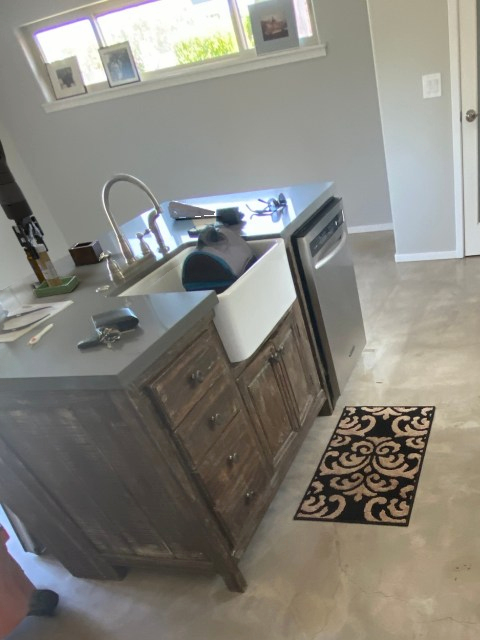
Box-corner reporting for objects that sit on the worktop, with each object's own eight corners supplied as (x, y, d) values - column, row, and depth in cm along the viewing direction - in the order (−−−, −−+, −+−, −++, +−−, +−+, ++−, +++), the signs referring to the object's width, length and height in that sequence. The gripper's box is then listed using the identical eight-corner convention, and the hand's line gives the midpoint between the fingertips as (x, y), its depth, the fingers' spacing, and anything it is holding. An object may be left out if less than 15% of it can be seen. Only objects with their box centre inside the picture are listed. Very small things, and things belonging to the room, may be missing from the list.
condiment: (60, 281, 187) (42, 245, 179) (36, 288, 183) (16, 252, 175) (57, 277, 191) (39, 242, 183) (33, 284, 188) (13, 248, 180)
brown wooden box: (75, 266, 201) (67, 249, 197) (82, 259, 207) (74, 243, 203) (99, 262, 201) (91, 245, 197) (105, 255, 208) (98, 239, 204)
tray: (37, 297, 175) (33, 290, 173) (47, 287, 182) (43, 281, 181) (70, 291, 175) (67, 284, 174) (79, 282, 183) (76, 275, 181)
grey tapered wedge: (226, 201, 241) (175, 198, 245) (218, 205, 235) (166, 202, 238) (230, 220, 246) (179, 216, 250) (222, 224, 240) (171, 221, 243)
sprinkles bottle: (47, 289, 178) (25, 247, 169) (58, 284, 181) (37, 243, 172) (56, 290, 176) (34, 247, 167) (67, 285, 179) (46, 243, 170)
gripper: (9, 197, 166) (37, 251, 177) (-10, 206, 155) (22, 263, 166) (32, 193, 166) (59, 248, 177) (16, 202, 155) (45, 259, 166)
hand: (41, 255), depth 171 cm, fingers open, 8 cm apart
